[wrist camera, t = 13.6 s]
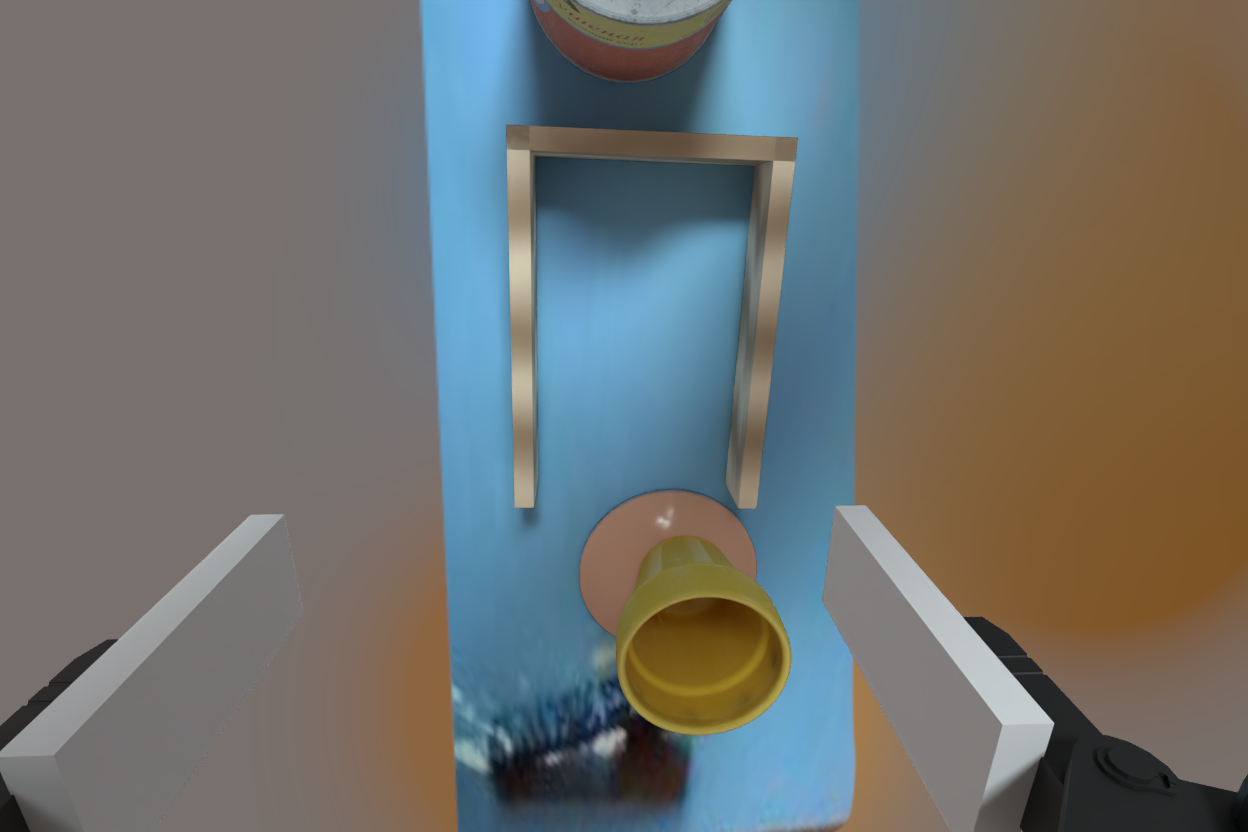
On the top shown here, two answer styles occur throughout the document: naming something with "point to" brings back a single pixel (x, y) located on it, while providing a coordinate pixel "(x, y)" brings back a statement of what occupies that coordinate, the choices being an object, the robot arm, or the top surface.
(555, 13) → the canned food
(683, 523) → the disc
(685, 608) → the plant pot
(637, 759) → the top surface
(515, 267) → the slot cradle
